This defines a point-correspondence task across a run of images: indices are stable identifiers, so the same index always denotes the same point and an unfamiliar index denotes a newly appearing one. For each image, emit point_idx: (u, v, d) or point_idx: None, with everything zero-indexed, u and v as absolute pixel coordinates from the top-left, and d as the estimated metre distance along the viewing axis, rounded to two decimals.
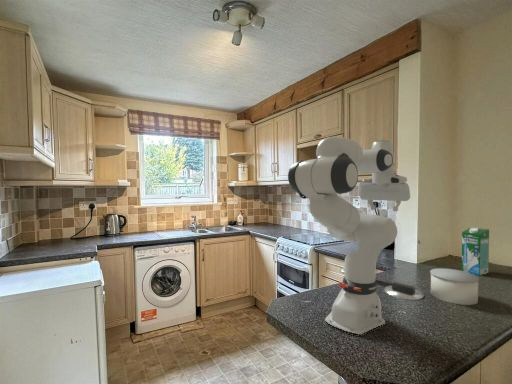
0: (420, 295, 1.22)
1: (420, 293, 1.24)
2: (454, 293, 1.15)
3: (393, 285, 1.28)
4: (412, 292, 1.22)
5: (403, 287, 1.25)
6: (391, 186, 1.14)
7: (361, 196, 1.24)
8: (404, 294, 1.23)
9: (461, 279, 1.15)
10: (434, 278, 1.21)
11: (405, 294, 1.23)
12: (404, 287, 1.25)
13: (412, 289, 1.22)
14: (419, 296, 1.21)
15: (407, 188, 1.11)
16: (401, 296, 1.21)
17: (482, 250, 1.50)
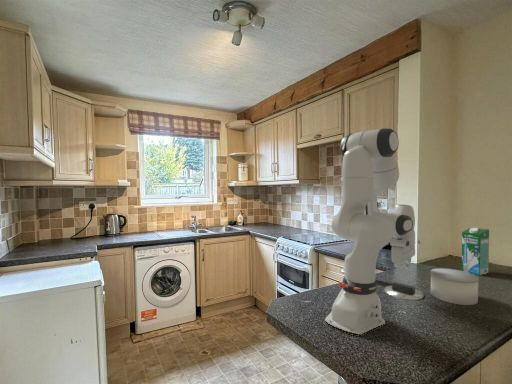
0: (420, 295, 1.22)
1: (420, 293, 1.24)
2: (454, 293, 1.15)
3: (393, 285, 1.28)
4: (412, 292, 1.22)
5: (403, 287, 1.25)
6: None
7: None
8: (404, 294, 1.23)
9: (461, 279, 1.15)
10: (434, 278, 1.21)
11: (405, 294, 1.23)
12: (404, 287, 1.25)
13: (412, 289, 1.22)
14: (419, 296, 1.21)
15: (396, 252, 1.20)
16: (401, 296, 1.21)
17: (482, 250, 1.50)
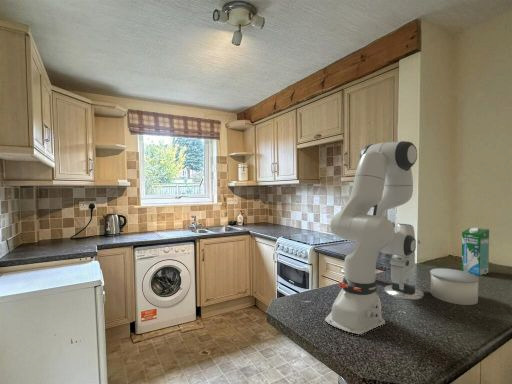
0: (420, 295, 1.22)
1: (420, 292, 1.24)
2: (454, 293, 1.15)
3: (393, 284, 1.28)
4: (412, 291, 1.22)
5: None
6: None
7: None
8: (404, 293, 1.23)
9: (461, 279, 1.15)
10: (434, 278, 1.21)
11: (405, 293, 1.23)
12: None
13: (412, 288, 1.22)
14: (419, 295, 1.21)
15: (395, 271, 1.20)
16: (401, 295, 1.21)
17: (482, 250, 1.50)
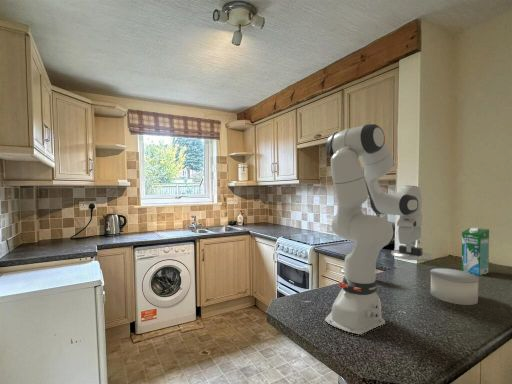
0: (427, 256, 1.21)
1: (427, 254, 1.23)
2: (454, 293, 1.15)
3: (400, 248, 1.27)
4: (419, 253, 1.22)
5: None
6: None
7: None
8: (412, 255, 1.22)
9: (461, 279, 1.15)
10: (434, 278, 1.21)
11: (412, 255, 1.22)
12: None
13: (419, 250, 1.22)
14: (427, 256, 1.20)
15: (403, 232, 1.19)
16: (409, 256, 1.20)
17: (482, 250, 1.50)
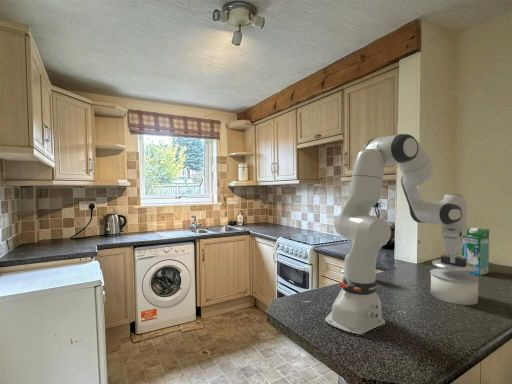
0: (473, 267, 1.17)
1: (472, 265, 1.19)
2: (454, 293, 1.15)
3: (442, 258, 1.23)
4: (464, 264, 1.17)
5: None
6: None
7: None
8: (456, 266, 1.18)
9: (461, 279, 1.15)
10: (434, 278, 1.21)
11: (457, 266, 1.18)
12: None
13: (464, 261, 1.17)
14: (472, 267, 1.16)
15: (448, 243, 1.15)
16: (454, 267, 1.16)
17: (482, 250, 1.50)
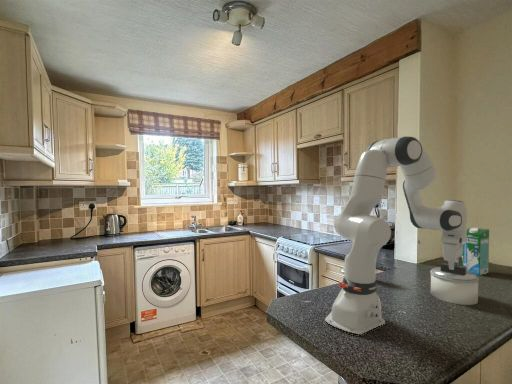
0: (472, 275, 1.17)
1: (471, 273, 1.19)
2: (454, 293, 1.15)
3: (442, 266, 1.23)
4: (464, 272, 1.17)
5: None
6: None
7: None
8: (456, 274, 1.18)
9: None
10: (434, 278, 1.21)
11: (456, 274, 1.18)
12: (455, 267, 1.20)
13: (464, 269, 1.17)
14: (472, 276, 1.16)
15: (448, 249, 1.15)
16: (453, 276, 1.16)
17: (482, 250, 1.50)
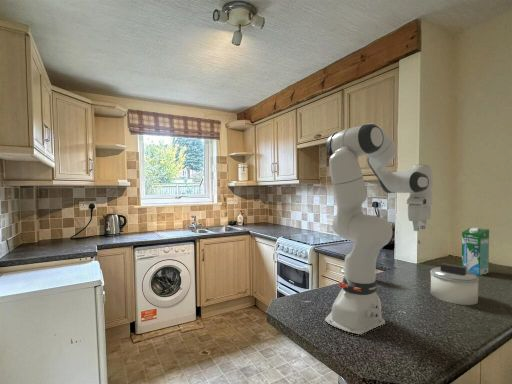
0: (472, 275, 1.17)
1: (472, 273, 1.19)
2: (454, 293, 1.15)
3: (442, 266, 1.23)
4: (464, 272, 1.17)
5: (453, 267, 1.20)
6: None
7: None
8: (456, 274, 1.18)
9: None
10: (434, 278, 1.21)
11: (456, 274, 1.18)
12: (455, 267, 1.20)
13: (464, 269, 1.17)
14: (472, 276, 1.16)
15: (412, 209, 1.20)
16: (453, 276, 1.16)
17: (482, 250, 1.50)
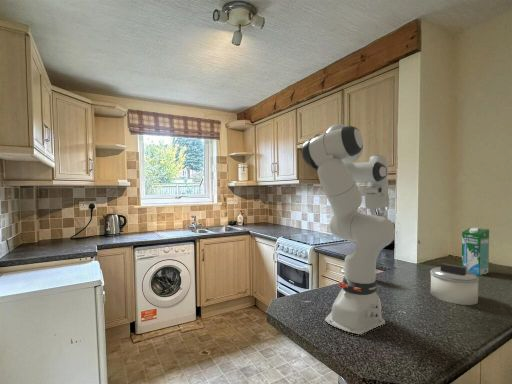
0: (472, 275, 1.17)
1: (472, 273, 1.19)
2: (454, 293, 1.15)
3: (442, 266, 1.23)
4: (464, 272, 1.17)
5: (453, 267, 1.20)
6: None
7: None
8: (456, 274, 1.18)
9: None
10: (434, 278, 1.21)
11: (456, 274, 1.18)
12: (455, 267, 1.20)
13: (464, 269, 1.17)
14: (472, 276, 1.16)
15: (369, 198, 1.27)
16: (453, 276, 1.16)
17: (482, 250, 1.50)
